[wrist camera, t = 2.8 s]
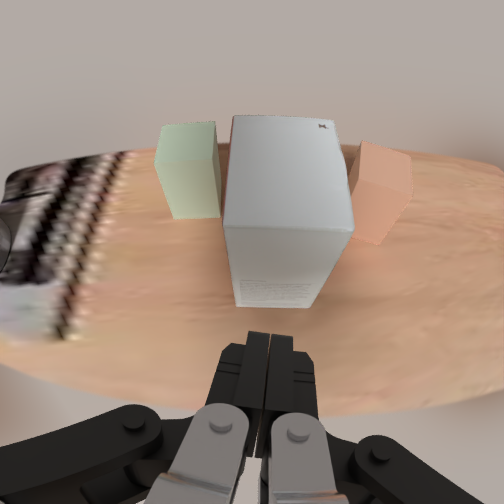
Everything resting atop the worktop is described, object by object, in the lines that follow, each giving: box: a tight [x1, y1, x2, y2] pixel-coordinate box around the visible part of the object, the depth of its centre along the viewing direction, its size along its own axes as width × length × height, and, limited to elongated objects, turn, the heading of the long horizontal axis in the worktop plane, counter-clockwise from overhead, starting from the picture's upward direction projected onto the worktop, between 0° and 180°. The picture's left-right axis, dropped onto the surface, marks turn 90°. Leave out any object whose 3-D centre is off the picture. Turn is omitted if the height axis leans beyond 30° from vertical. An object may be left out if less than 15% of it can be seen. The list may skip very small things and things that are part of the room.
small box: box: [222, 115, 355, 308], centre depth 21 cm, size 8×6×13 cm
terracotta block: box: [348, 141, 413, 245], centre depth 26 cm, size 4×4×8 cm
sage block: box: [154, 121, 222, 219], centre depth 27 cm, size 4×4×8 cm
